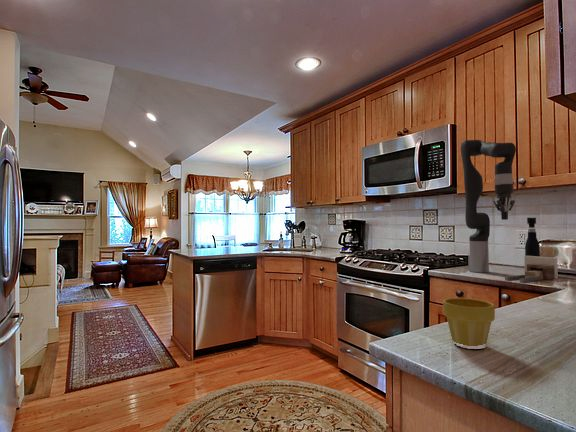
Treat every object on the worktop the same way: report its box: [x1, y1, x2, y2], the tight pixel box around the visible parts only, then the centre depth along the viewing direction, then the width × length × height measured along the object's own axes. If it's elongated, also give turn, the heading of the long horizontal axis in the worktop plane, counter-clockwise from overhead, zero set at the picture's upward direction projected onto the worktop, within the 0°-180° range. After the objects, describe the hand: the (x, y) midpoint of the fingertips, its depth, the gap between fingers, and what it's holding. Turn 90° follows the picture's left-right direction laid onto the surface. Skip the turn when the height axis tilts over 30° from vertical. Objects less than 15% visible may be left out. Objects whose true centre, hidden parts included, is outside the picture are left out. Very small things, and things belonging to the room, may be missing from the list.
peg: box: [524, 270, 544, 281], centre depth 164 cm, size 12×4×4 cm, turn 114°
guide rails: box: [504, 274, 541, 284], centre depth 160 cm, size 8×14×2 cm, turn 114°
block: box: [527, 264, 554, 280], centre depth 166 cm, size 9×6×6 cm, turn 24°
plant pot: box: [442, 297, 496, 346], centre depth 77 cm, size 10×10×10 cm
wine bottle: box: [524, 217, 541, 257], centre depth 179 cm, size 6×6×30 cm
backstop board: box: [523, 255, 559, 280], centre depth 170 cm, size 14×2×10 cm, turn 24°
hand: (504, 219), depth 162 cm, fingers closed
